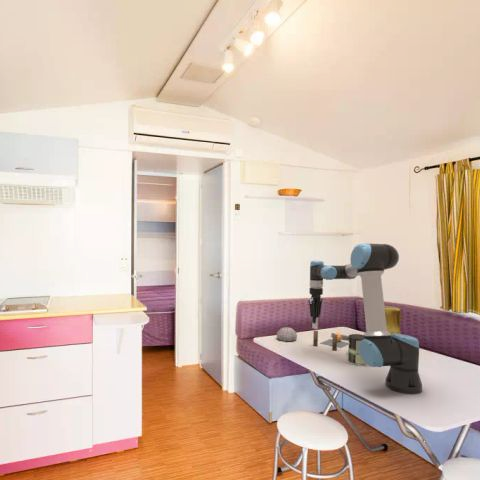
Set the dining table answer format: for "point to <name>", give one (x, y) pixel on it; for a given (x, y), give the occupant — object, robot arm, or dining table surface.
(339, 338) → the ball
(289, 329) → the sea urchin shell
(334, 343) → the right post
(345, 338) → the wall
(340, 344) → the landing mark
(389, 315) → the pitcher
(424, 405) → the dining table surface
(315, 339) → the left post
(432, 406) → the dining table surface
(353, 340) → the coffee can
